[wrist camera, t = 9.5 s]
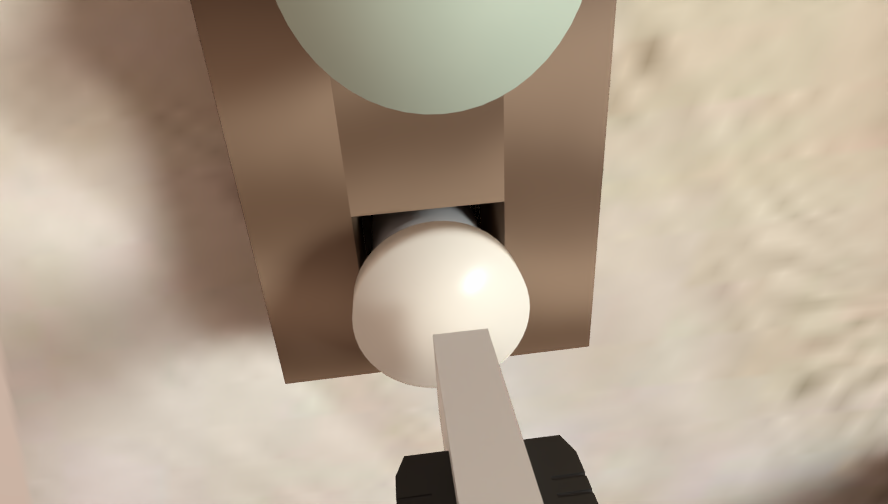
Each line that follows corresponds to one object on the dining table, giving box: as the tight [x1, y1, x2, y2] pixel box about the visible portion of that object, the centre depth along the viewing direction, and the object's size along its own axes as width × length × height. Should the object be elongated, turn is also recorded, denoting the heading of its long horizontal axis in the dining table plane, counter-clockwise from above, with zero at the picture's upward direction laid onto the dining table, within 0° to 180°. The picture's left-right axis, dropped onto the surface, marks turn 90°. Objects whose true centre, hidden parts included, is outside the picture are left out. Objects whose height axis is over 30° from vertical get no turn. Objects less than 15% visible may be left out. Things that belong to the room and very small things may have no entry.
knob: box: [352, 205, 530, 388], centre depth 20 cm, size 6×6×7 cm
